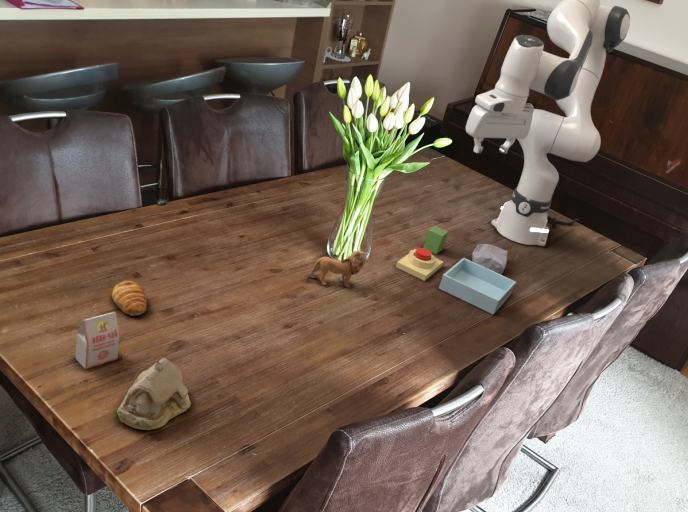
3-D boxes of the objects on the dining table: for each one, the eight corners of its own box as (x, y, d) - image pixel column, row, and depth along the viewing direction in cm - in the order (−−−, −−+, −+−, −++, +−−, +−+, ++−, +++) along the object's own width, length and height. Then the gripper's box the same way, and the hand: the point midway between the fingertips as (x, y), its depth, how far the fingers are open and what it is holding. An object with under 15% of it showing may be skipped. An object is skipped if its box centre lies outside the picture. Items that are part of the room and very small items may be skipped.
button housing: (413, 253, 215) (417, 243, 213) (441, 266, 212) (445, 256, 210) (395, 267, 206) (398, 256, 204) (424, 281, 203) (428, 269, 201)
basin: (458, 270, 213) (463, 257, 211) (511, 295, 208) (516, 281, 206) (438, 288, 201) (443, 274, 199) (493, 314, 197) (498, 300, 194)
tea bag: (75, 358, 144) (77, 315, 139) (107, 349, 149) (110, 306, 143) (85, 369, 142) (87, 325, 137) (117, 359, 147) (120, 316, 142)
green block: (428, 243, 223) (434, 225, 220) (442, 249, 222) (448, 231, 218) (422, 248, 219) (428, 229, 216) (436, 254, 218) (442, 236, 215)
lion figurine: (355, 276, 196) (363, 246, 191) (362, 288, 192) (371, 257, 187) (302, 275, 190) (309, 244, 185) (308, 287, 186) (316, 255, 181)
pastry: (153, 316, 161) (155, 301, 159) (122, 319, 158) (123, 304, 156) (139, 292, 167) (140, 277, 165) (108, 295, 164) (109, 280, 162)
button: (418, 251, 210) (420, 246, 209) (432, 258, 208) (434, 252, 207) (411, 256, 206) (413, 250, 205) (425, 263, 205) (427, 257, 204)
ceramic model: (145, 376, 145) (149, 334, 139) (198, 397, 143) (205, 355, 138) (105, 418, 133) (108, 373, 128) (162, 441, 132) (168, 397, 126)
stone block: (470, 272, 218) (505, 276, 216) (472, 256, 215) (507, 260, 214) (472, 256, 228) (505, 260, 226) (474, 241, 225) (508, 245, 224)
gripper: (527, 99, 203) (509, 148, 211) (471, 95, 192) (454, 147, 200) (543, 108, 199) (524, 157, 207) (487, 104, 188) (469, 157, 196)
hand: (489, 152), depth 203 cm, fingers open, 8 cm apart
